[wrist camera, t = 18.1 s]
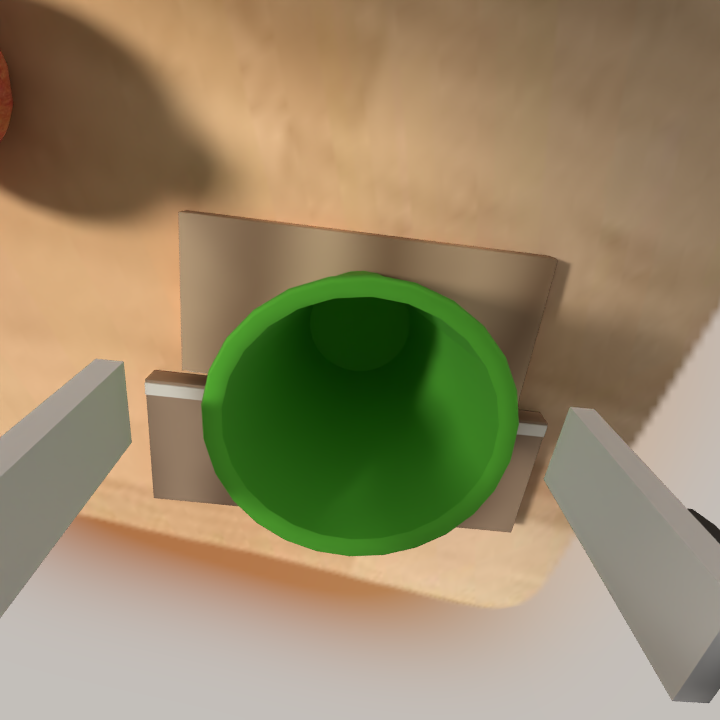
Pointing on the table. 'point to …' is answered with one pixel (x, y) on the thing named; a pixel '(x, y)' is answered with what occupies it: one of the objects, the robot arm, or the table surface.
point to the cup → (360, 414)
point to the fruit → (4, 97)
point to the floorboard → (200, 484)
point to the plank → (341, 255)
